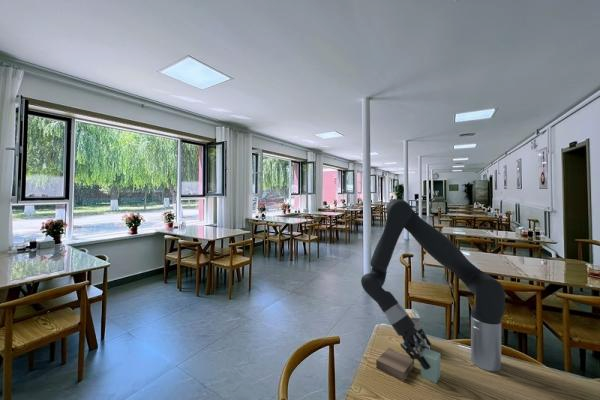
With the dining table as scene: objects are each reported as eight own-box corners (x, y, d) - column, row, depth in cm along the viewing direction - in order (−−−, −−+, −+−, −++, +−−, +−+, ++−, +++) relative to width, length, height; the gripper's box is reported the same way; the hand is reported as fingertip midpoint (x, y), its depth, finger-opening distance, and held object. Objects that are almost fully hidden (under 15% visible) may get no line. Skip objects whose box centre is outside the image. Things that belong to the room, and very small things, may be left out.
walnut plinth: (388, 355, 102) (388, 347, 102) (414, 366, 95) (414, 358, 95) (376, 367, 94) (376, 359, 94) (403, 381, 88) (403, 372, 87)
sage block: (425, 369, 94) (425, 347, 93) (440, 375, 90) (440, 353, 90) (420, 376, 90) (420, 354, 90) (436, 383, 86) (436, 360, 86)
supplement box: (421, 349, 105) (421, 318, 105) (408, 348, 106) (408, 317, 106) (416, 338, 113) (416, 309, 113) (404, 337, 114) (404, 308, 114)
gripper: (396, 320, 91) (431, 370, 83) (414, 308, 101) (447, 352, 92) (382, 329, 96) (414, 378, 87) (401, 317, 105) (432, 359, 96)
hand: (431, 364), depth 90 cm, fingers closed on sage block, 5 cm apart
